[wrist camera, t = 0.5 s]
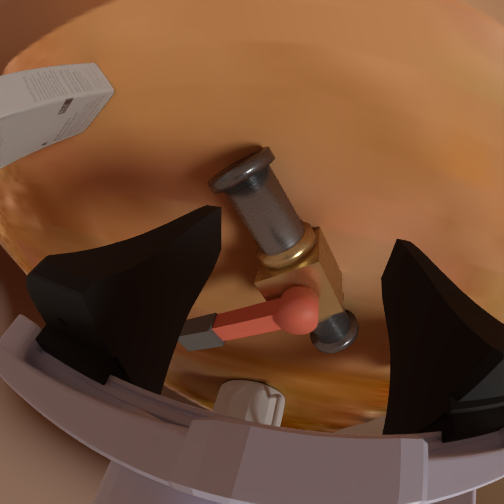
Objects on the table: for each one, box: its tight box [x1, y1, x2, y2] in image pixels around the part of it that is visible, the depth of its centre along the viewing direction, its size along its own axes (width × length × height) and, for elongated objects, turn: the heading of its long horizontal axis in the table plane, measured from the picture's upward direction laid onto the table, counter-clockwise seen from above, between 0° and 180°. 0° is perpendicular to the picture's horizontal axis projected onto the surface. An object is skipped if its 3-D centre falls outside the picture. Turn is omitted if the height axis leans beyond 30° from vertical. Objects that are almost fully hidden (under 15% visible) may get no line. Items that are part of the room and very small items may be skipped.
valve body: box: [254, 222, 344, 323], centre depth 22 cm, size 7×5×5 cm
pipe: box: [208, 147, 359, 353], centre depth 21 cm, size 18×5×5 cm, turn 31°
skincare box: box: [0, 63, 114, 169], centre depth 13 cm, size 6×4×12 cm
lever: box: [178, 286, 319, 351], centre depth 21 cm, size 12×3×2 cm, turn 121°
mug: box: [212, 380, 285, 427], centre depth 35 cm, size 14×11×10 cm
